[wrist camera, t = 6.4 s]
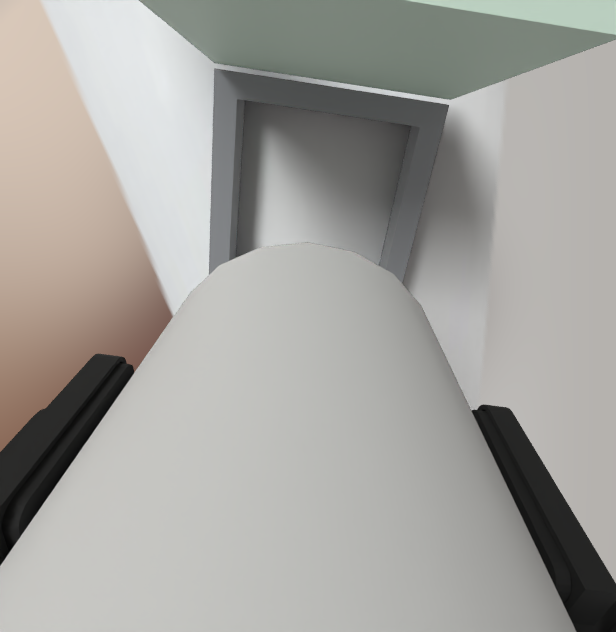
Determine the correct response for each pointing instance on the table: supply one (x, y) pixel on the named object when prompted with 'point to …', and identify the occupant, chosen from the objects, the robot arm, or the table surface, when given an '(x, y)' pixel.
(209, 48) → the plate
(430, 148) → the duct box
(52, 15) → the table surface
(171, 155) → the table surface
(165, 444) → the can
